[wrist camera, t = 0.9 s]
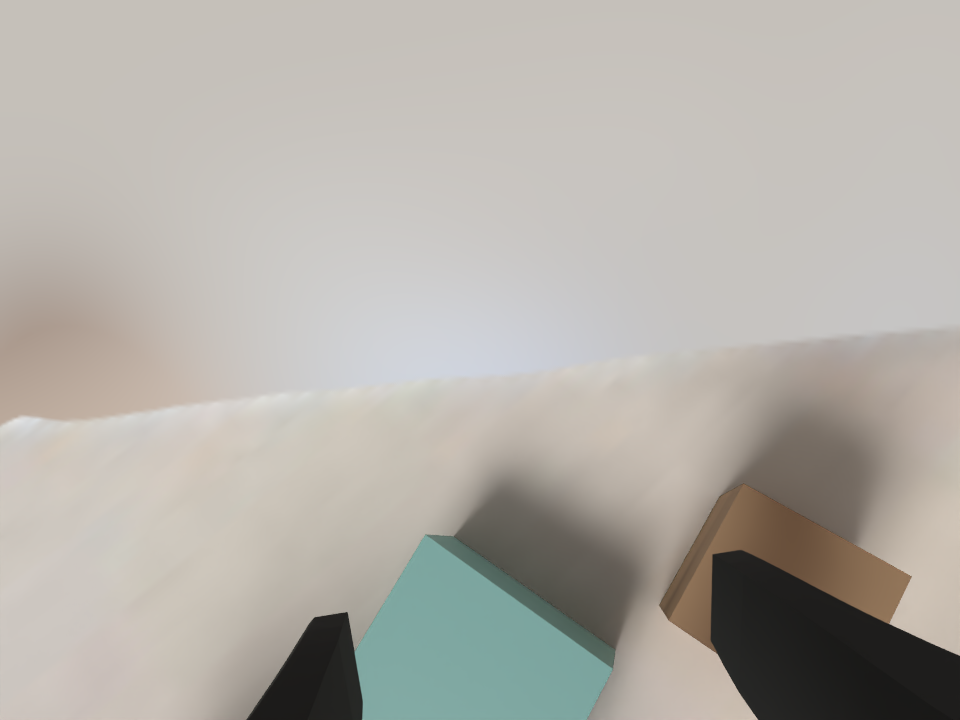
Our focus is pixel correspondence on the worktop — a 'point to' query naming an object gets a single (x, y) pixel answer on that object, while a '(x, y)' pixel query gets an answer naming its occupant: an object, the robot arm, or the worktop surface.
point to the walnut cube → (778, 561)
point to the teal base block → (475, 646)
